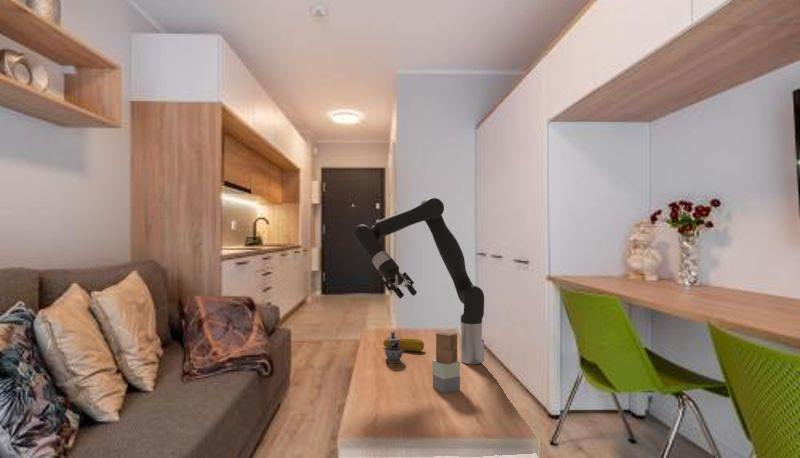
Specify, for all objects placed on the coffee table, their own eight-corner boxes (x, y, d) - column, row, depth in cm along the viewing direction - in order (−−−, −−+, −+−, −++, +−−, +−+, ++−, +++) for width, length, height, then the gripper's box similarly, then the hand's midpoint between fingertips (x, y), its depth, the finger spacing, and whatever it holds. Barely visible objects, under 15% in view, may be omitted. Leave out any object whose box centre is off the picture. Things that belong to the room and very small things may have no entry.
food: (424, 351, 205) (424, 338, 205) (420, 354, 200) (420, 341, 200) (385, 346, 214) (385, 334, 214) (380, 349, 208) (380, 337, 208)
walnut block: (444, 358, 159) (444, 330, 159) (457, 360, 155) (457, 333, 155) (436, 361, 154) (436, 333, 154) (449, 364, 151) (449, 335, 151)
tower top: (448, 370, 160) (448, 357, 160) (459, 376, 153) (459, 362, 153) (432, 373, 156) (432, 360, 156) (443, 379, 150) (443, 365, 150)
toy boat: (381, 356, 194) (382, 327, 193) (398, 355, 196) (399, 327, 195) (387, 369, 180) (388, 338, 179) (406, 368, 181) (406, 337, 180)
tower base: (448, 384, 159) (448, 370, 159) (460, 390, 153) (460, 376, 153) (432, 387, 156) (432, 373, 156) (443, 393, 150) (443, 379, 150)
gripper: (379, 259, 165) (403, 291, 158) (401, 257, 176) (424, 287, 169) (368, 272, 168) (392, 304, 161) (391, 269, 179) (413, 299, 172)
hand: (408, 295), depth 165 cm, fingers open, 8 cm apart
